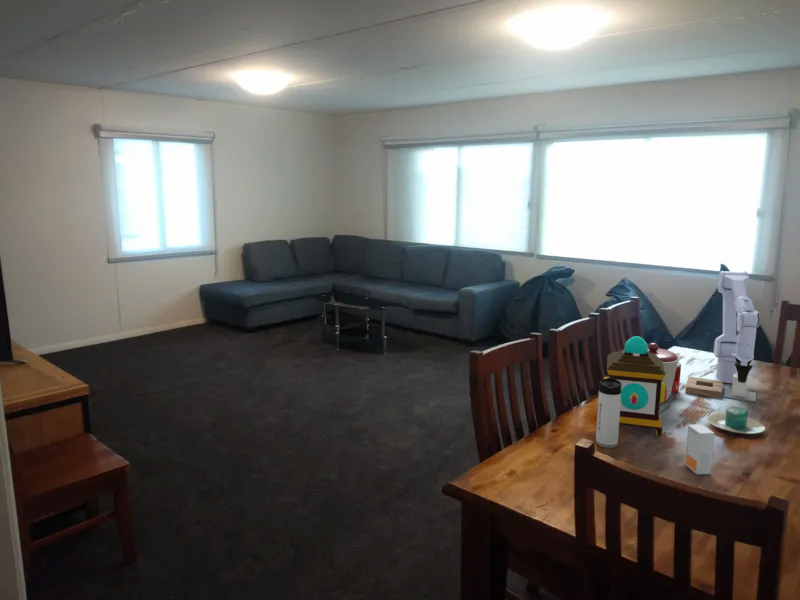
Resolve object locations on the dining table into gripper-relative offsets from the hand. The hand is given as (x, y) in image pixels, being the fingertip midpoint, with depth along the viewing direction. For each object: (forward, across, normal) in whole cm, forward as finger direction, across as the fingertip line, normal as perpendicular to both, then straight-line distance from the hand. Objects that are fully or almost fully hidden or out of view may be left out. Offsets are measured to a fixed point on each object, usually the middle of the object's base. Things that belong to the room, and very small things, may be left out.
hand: (741, 379), depth 215 cm
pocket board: (+6, -1, -12) cm, 14 cm away
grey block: (+6, 0, 0) cm, 6 cm away
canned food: (+7, +6, -24) cm, 26 cm away
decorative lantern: (+6, +48, -31) cm, 58 cm away
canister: (+7, +19, -29) cm, 35 cm away
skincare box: (+6, +72, -10) cm, 73 cm away
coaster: (+6, 0, 0) cm, 6 cm away
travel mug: (+6, +67, -35) cm, 76 cm away
